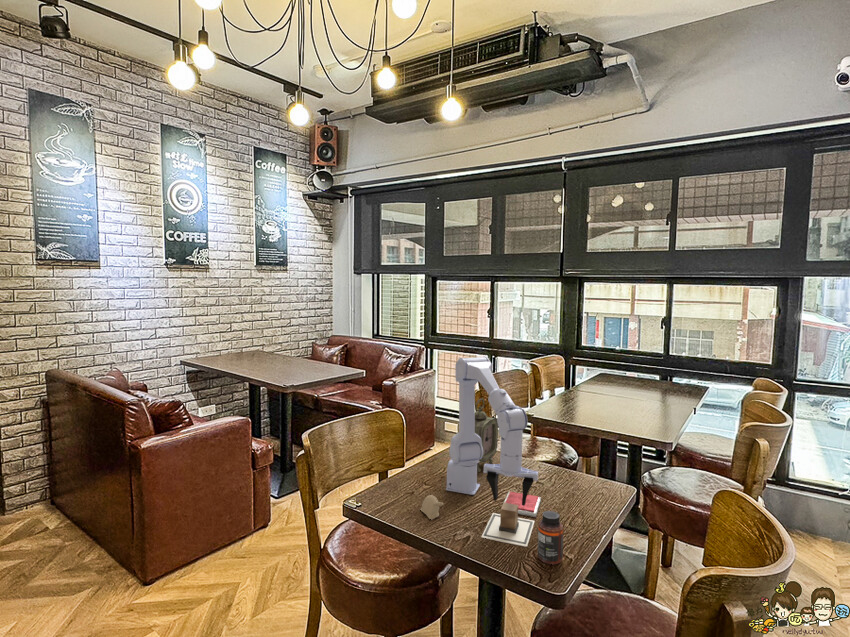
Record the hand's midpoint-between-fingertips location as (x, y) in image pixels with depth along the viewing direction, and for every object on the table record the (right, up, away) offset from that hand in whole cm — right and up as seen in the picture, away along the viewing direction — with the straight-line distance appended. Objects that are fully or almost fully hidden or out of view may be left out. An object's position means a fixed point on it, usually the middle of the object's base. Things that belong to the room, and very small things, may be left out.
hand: (509, 501), depth 131 cm
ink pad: (+6, -7, +14) cm, 17 cm away
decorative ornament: (-21, -7, +8) cm, 24 cm away
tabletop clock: (-4, -4, +45) cm, 45 cm away
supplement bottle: (+8, -9, -13) cm, 18 cm away
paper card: (0, -8, +1) cm, 8 cm away
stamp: (0, -8, +1) cm, 8 cm away
